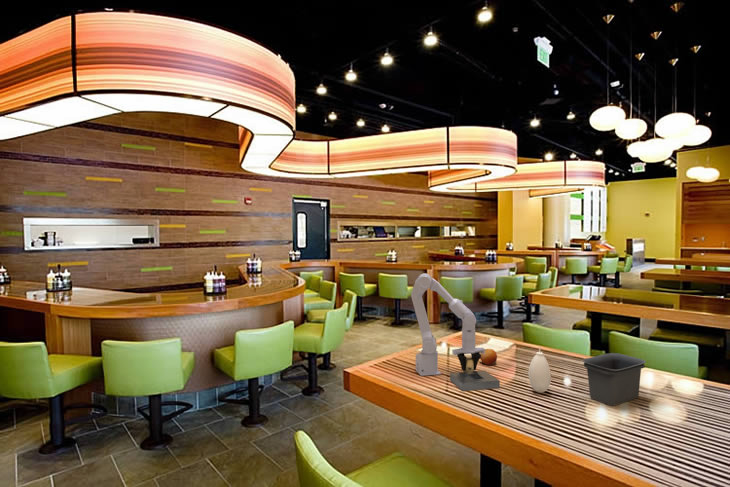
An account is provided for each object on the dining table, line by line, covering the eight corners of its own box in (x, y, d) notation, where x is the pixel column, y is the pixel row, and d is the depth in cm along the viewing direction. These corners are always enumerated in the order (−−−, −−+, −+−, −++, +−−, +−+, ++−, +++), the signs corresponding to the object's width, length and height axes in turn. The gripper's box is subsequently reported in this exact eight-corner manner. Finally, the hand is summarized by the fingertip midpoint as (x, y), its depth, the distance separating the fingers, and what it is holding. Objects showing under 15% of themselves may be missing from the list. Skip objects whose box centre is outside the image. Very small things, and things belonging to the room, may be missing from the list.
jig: (462, 391, 153) (462, 383, 153) (449, 380, 165) (449, 373, 165) (499, 387, 156) (499, 380, 156) (484, 377, 168) (484, 370, 168)
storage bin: (614, 411, 135) (614, 370, 135) (573, 395, 149) (573, 357, 149) (650, 399, 144) (650, 361, 144) (608, 385, 158) (608, 350, 158)
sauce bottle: (553, 396, 147) (553, 349, 147) (531, 395, 149) (531, 348, 149) (547, 388, 155) (547, 343, 155) (526, 387, 156) (526, 342, 156)
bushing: (466, 376, 169) (466, 360, 169) (461, 373, 174) (461, 357, 173) (475, 375, 170) (475, 359, 170) (471, 372, 174) (471, 356, 174)
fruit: (503, 363, 183) (494, 348, 183) (488, 371, 183) (480, 357, 183) (497, 357, 191) (489, 343, 191) (484, 366, 191) (475, 352, 191)
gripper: (457, 342, 166) (457, 374, 166) (488, 340, 169) (488, 371, 169) (450, 338, 173) (450, 368, 173) (480, 336, 176) (480, 366, 176)
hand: (468, 370), depth 172 cm, fingers closed on bushing, 4 cm apart
